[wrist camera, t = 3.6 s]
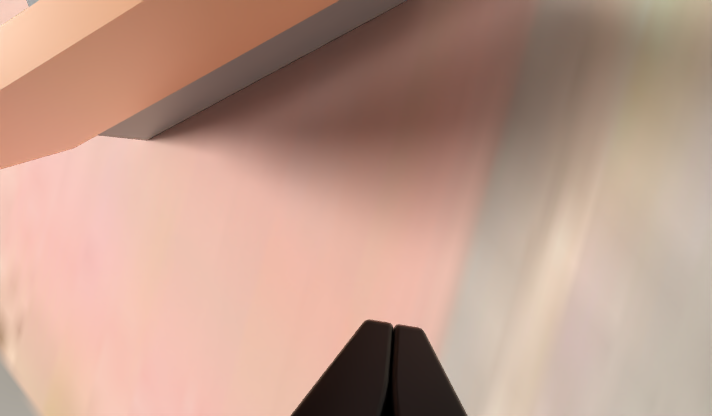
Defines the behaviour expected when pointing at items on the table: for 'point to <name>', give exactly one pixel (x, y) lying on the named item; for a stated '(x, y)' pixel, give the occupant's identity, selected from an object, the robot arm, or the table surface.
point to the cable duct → (249, 66)
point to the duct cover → (117, 61)
